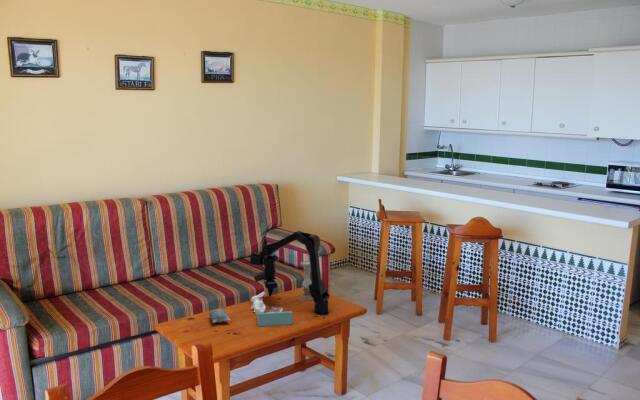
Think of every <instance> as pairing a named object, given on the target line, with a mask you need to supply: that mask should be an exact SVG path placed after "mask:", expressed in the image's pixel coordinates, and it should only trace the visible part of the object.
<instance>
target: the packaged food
mask: <svg viewBox="0 0 640 400" xmlns="http://www.w3.org/2000/svg"><path fill="white" fill-rule="evenodd" d="M208 315H209V317H210V320H211V322H212V323H213V324H214V323H216V324H218V323H224V322H227V321H231V318H230V317H229V316H228V314H227V310H226V309H225V310H224V309H222V308H216V309H211V310H210V311H209V313H208Z"/></svg>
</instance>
